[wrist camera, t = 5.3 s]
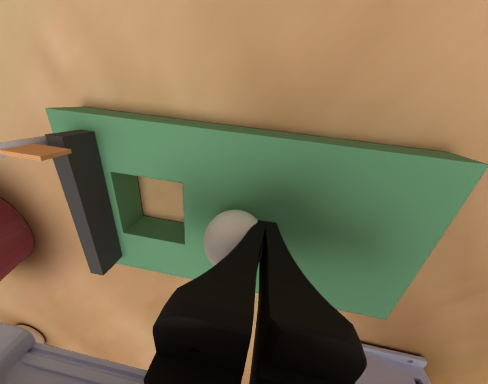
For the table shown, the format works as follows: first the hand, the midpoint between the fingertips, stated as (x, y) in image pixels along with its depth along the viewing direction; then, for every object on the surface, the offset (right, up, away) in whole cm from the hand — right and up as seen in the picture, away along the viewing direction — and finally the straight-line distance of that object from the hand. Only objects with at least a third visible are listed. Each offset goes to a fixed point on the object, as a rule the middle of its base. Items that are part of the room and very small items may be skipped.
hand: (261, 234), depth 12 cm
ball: (-2, 0, 0) cm, 2 cm away
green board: (-1, +1, +3) cm, 4 cm away
